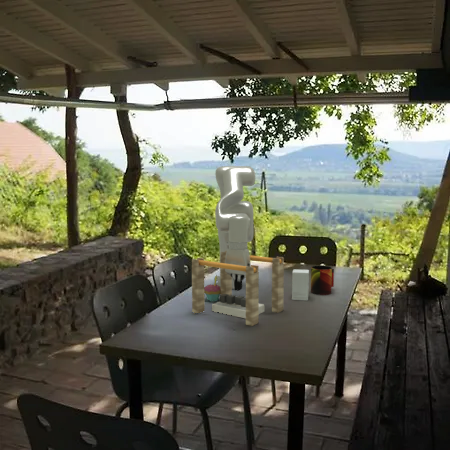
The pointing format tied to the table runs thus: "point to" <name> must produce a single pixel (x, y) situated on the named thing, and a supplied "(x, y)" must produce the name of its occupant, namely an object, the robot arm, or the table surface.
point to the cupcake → (212, 291)
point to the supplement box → (300, 284)
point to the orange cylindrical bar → (261, 259)
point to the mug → (322, 280)
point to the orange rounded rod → (223, 265)
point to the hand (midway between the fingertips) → (238, 289)
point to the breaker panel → (233, 306)
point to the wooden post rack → (251, 287)
